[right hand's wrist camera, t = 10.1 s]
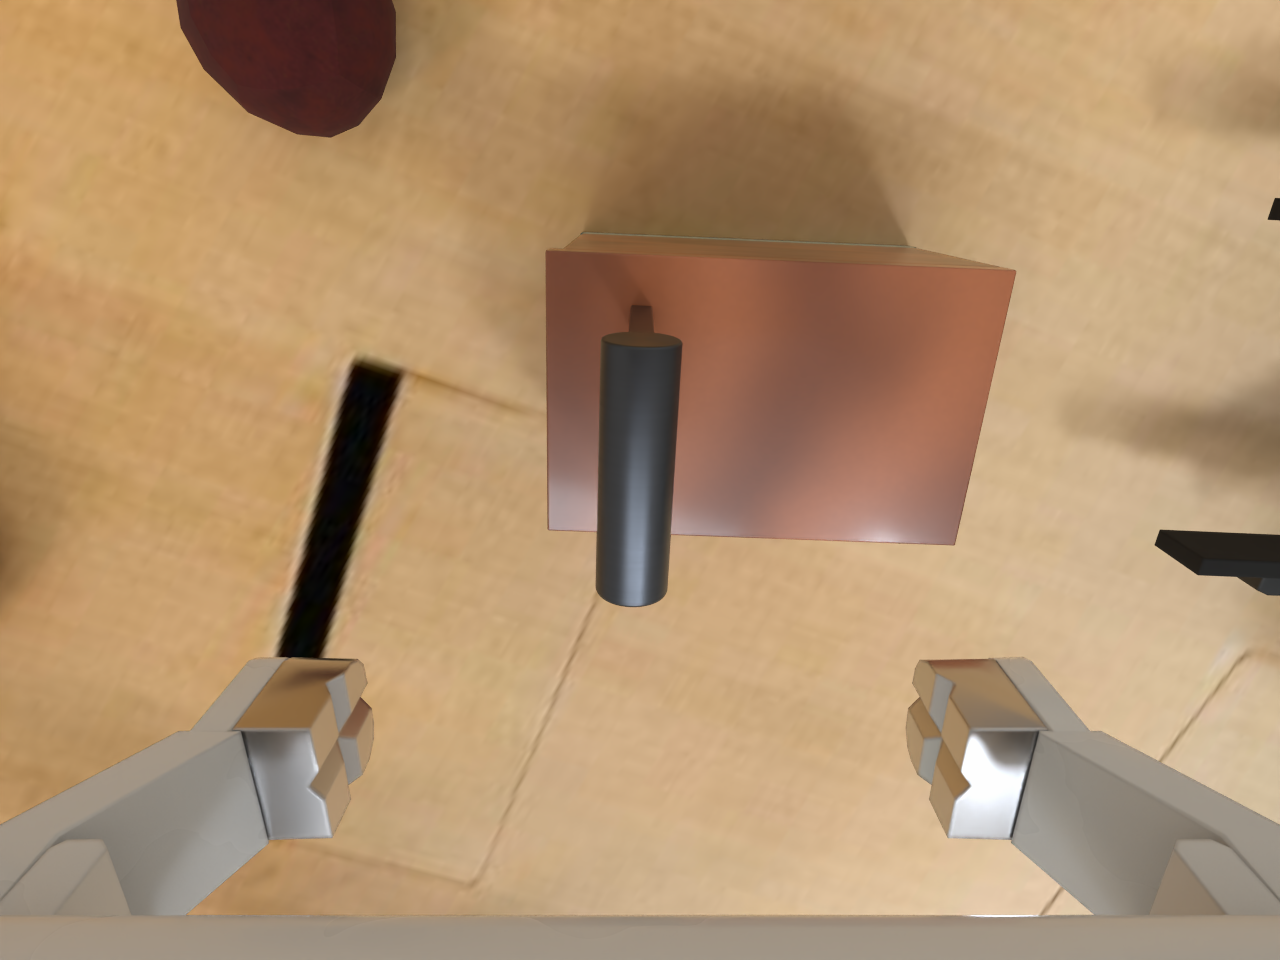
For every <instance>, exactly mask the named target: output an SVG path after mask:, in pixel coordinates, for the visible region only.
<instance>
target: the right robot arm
mask: <svg viewBox="0 0 1280 960" xmlns="http://www.w3.org/2000/svg"><path fill="white" fill-rule="evenodd" d="M366 685H367V678H366V674H365V669H364V664H363V663H362V662H360V661H359V660H358V659H333V658H255V659H252V660H250V661H248V662H247V663H246V665H245V666H244V667H243V668H242V669H241V671H240V672H239V673H238V674H237V675H236V677H235V678H234V679H233V680H232V681H231V683H230V684H229V685H228V686H227V687H226V689H225V690H224V691H223V692H222V693H221V695H220V696H219V697H218V698H217V699H216V701H215V702H214V703H213V704H212V705H211V706H210V708H209V709H208V710H207V711H206V712H205V714H204V715H203V716H202V717H201V718H200V720H199V721H198V722H197V723H196V724H195V726H194V727H193V728H192V729H191V730H190V731H178V732H176V733H174V734H172V735H170V736H169V737H167V738H165V739H163V740H161V741H159V742H157V743H155V744H153V745H151V746H149V747H148V748H146V749H144V750H142V751H140V752H138V753H136V754H134V755H132V756H130V757H128V758H127V759H125V760H123V761H121V762H119V763H117V764H115V765H113V766H111V767H109V768H107V769H106V770H104V771H102V772H100V773H98V774H96V775H94V776H92V777H90V778H88V779H86V780H85V781H83V782H81V783H79V784H77V785H75V786H73V787H71V788H69V789H67V790H65V791H64V792H62V793H60V794H58V795H56V796H54V797H52V798H50V799H48V800H46V801H44V802H42V803H41V804H39V805H37V806H35V807H33V808H31V809H29V810H27V811H25V812H23V813H21V814H20V815H18V816H16V817H14V818H12V819H10V820H8V821H6V822H4V823H2V824H0V960H1280V825H1279V824H1277V823H1275V822H1273V821H1271V820H1269V819H1268V818H1266V817H1264V816H1262V815H1260V814H1258V813H1256V812H1254V811H1252V810H1250V809H1249V808H1247V807H1245V806H1243V805H1241V804H1239V803H1237V802H1235V801H1233V800H1231V799H1230V798H1228V797H1226V796H1224V795H1222V794H1220V793H1218V792H1216V791H1214V790H1212V789H1210V788H1209V787H1207V786H1205V785H1203V784H1201V783H1199V782H1197V781H1195V780H1193V779H1191V778H1190V777H1188V776H1186V775H1184V774H1182V773H1180V772H1178V771H1176V770H1174V769H1172V768H1170V767H1169V766H1167V765H1165V764H1163V763H1161V762H1159V761H1157V760H1155V759H1153V758H1151V757H1150V756H1148V755H1146V754H1144V753H1142V752H1140V751H1138V750H1136V749H1134V748H1132V747H1130V746H1129V745H1127V744H1125V743H1123V742H1121V741H1119V740H1117V739H1115V738H1113V737H1111V736H1110V735H1108V734H1106V733H1104V732H1102V731H1090V730H1089V729H1088V728H1087V727H1086V726H1085V724H1084V723H1083V722H1082V721H1081V720H1080V718H1079V717H1078V716H1077V715H1076V714H1075V713H1074V711H1073V710H1072V709H1071V708H1070V707H1069V705H1068V704H1067V703H1066V702H1065V701H1064V699H1063V698H1062V697H1061V696H1060V695H1059V693H1058V692H1057V691H1056V690H1055V689H1054V687H1053V686H1052V685H1051V684H1050V683H1049V682H1048V680H1047V679H1046V678H1045V677H1044V676H1043V674H1042V673H1041V672H1040V671H1039V670H1038V668H1037V667H1036V666H1035V665H1034V664H1033V662H1032V661H1030V660H1028V659H1026V658H1024V657H1009V658H989V659H948V660H919V662H918V664H917V666H916V668H915V672H914V678H913V685H914V687H915V689H916V691H917V693H918V694H919V696H920V697H919V698H918V699H917V700H916V701H915V702H914V703H913V704H912V705H911V706H910V707H909V708H908V714H907V722H906V736H907V747H908V751H909V754H910V758H911V761H912V764H913V766H914V768H915V770H916V772H917V775H919V776H920V777H921V778H923V779H924V780H925V781H927V782H928V783H930V784H931V785H932V786H931V792H930V797H929V800H930V802H931V804H932V806H933V808H934V810H935V812H936V815H937V817H938V819H939V821H940V823H941V825H942V827H943V829H944V831H945V833H946V835H947V837H948V838H967V839H1002V840H1012V841H1011V843H1012V844H1013V845H1014V846H1015V847H1017V848H1018V849H1019V850H1020V851H1021V852H1022V853H1023V854H1025V855H1026V856H1027V857H1028V858H1029V859H1030V860H1032V861H1033V862H1034V863H1035V864H1036V865H1037V866H1039V867H1040V868H1041V869H1042V870H1043V871H1044V872H1045V873H1047V874H1048V875H1049V876H1050V877H1051V878H1052V879H1054V880H1055V881H1056V882H1057V883H1058V884H1059V885H1061V886H1062V887H1063V888H1064V889H1065V890H1066V891H1068V892H1069V893H1070V894H1071V895H1072V896H1073V897H1074V898H1076V899H1077V900H1078V901H1079V902H1080V903H1081V904H1083V905H1084V906H1085V907H1086V908H1087V909H1088V910H1090V911H1091V912H1092V913H1093V914H1094V915H186V914H187V913H188V912H190V911H191V910H192V909H193V908H194V907H195V906H196V905H198V904H199V903H200V902H201V901H202V900H203V899H205V898H206V897H207V896H208V895H209V894H210V893H212V892H213V891H214V890H215V889H216V888H217V887H219V886H220V885H221V884H222V883H223V882H224V881H226V880H227V879H228V878H229V877H230V876H231V875H232V874H234V873H235V872H236V871H237V870H238V869H239V868H241V867H242V866H243V865H244V864H245V863H246V862H248V861H249V860H250V859H251V858H252V857H253V856H255V855H256V854H257V853H258V852H259V851H260V850H261V849H263V848H264V847H265V846H266V845H267V844H268V843H269V841H268V840H277V839H312V838H333V835H334V833H335V831H336V829H337V827H338V825H339V823H340V821H341V819H342V817H343V815H344V813H345V810H346V808H347V806H348V804H349V802H350V800H351V797H350V792H349V786H348V785H349V784H350V783H352V782H353V781H355V780H356V779H357V778H359V777H360V776H361V775H363V772H364V770H365V768H366V766H367V763H368V761H369V759H370V754H371V750H372V745H373V740H374V720H373V713H372V708H371V707H370V706H369V705H368V704H367V703H366V702H365V701H364V700H363V699H362V698H361V697H360V696H361V694H362V693H363V691H364V689H365V687H366Z"/></svg>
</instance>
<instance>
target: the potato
mask: <svg viewBox="0 0 1280 960" xmlns="http://www.w3.org/2000/svg"><path fill="white" fill-rule="evenodd" d="M176 1H177V7H178V13H179V19H180V26H181V29H182V31H183V33H184V34H185V36H186V38H187V40H188V42H189V43H190V45H191V47H192V49H193V51H194V52H195V54H196V56H197V58H198V60H199V61H200V63H201V65H202V67H203V69H204V70H205V71H206V72H207V73H208V74H209V75H210V76H211V77H212V78H213V79H214V80H215V81H216V82H217V83H219V84H220V85H221V86H222V87H223V88H224V89H225V90H226V91H227V92H228V93H229V94H230V95H231V96H232V97H233V98H234V99H235V100H236V101H237V102H238V103H239V104H240V105H241V106H242V107H243V108H244V109H245V110H246V111H247V112H248V113H251V114H253V115H255V116H257V117H260V118H262V119H264V120H266V121H269V122H271V123H273V124H275V125H278V126H280V127H282V128H284V129H287V130H289V131H291V132H293V133H296V134H300V135H310V136H321V137H333V136H335V135H337V134H340V133H342V132H344V131H347V130H349V129H351V128H353V127H356V126H358V125H359V124H360V123H361V122H362V121H363V119H364V118H365V117H366V116H367V115H368V114H369V112H370V111H371V110H372V109H373V108H374V107H375V105H376V104H377V103H378V102H379V101H380V99H381V98H382V95H383V92H384V89H385V86H386V84H387V81H388V78H389V75H390V72H391V69H392V67H393V64H394V61H395V58H396V12H395V9H394V5H393V2H392V0H176Z"/></svg>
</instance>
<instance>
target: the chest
mask: <svg viewBox="0 0 1280 960" xmlns="http://www.w3.org/2000/svg"><path fill="white" fill-rule="evenodd" d="M564 249H579V250H603V251H626V252H650V253H673V254H697V255H721V256H744V257H768V258H791V259H815V260H838V261H862V262H885V263H909V264H933V265H956V266H980V267H998V266H993V265H989V264H985V263H980V262H976V261H971V260H967V259H962V258H958V257H953V256H949V255H944V254H940V253H935V252H931V251H926V250H922V249H917V248H916V247H911V246H897V245H873V244H850V243H826V242H803V241H780V240H756V239H733V238H710V237H686V236H663V235H639V234H616V233H593V232H582V233H581V235H580V236H579V237H578V238H576V239H575V240H574V241H573V242H571V243H570V244H569V245H568V246H566V247H565V248H564Z"/></svg>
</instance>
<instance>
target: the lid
mask: <svg viewBox="0 0 1280 960" xmlns="http://www.w3.org/2000/svg"><path fill="white" fill-rule="evenodd" d="M1015 275H1016V270H1012V269H1008V268H1003V267H980V266H956V265H933V264H909V263H885V262H862V261H838V260H815V259H791V258H768V257H744V256H721V255H697V254H673V253H650V252H626V251H603V250H579V249H556V248H550V249H548V250H546V370H547V506H548V530H557V531H584V532H597V547H596V590H597V592H598V594H599V595H600V596H601V597H602V598H603V599H604V600H606V601H608V602H610V603H612V604H615V605H619V606H625V607H642V606H647V605H651V604H654V603H656V602H658V601H660V600H661V599H662V598H663V597H664V596H665V594H666V592H667V586H668V570H669V554H670V538H671V535H691V536H718V537H745V538H772V539H799V540H825V541H852V542H879V543H906V544H933V545H955V542H956V537H957V533H958V528H959V524H960V520H961V515H962V511H963V506H964V502H965V497H966V493H967V488H968V484H969V480H970V475H971V471H972V466H973V462H974V457H975V453H976V448H977V444H978V440H979V435H980V431H981V426H982V422H983V417H984V413H985V408H986V404H987V399H988V395H989V391H990V386H991V382H992V377H993V373H994V368H995V364H996V359H997V355H998V351H999V346H1000V342H1001V337H1002V333H1003V328H1004V324H1005V319H1006V315H1007V311H1008V306H1009V302H1010V297H1011V293H1012V288H1013V284H1014V279H1015Z"/></svg>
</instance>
